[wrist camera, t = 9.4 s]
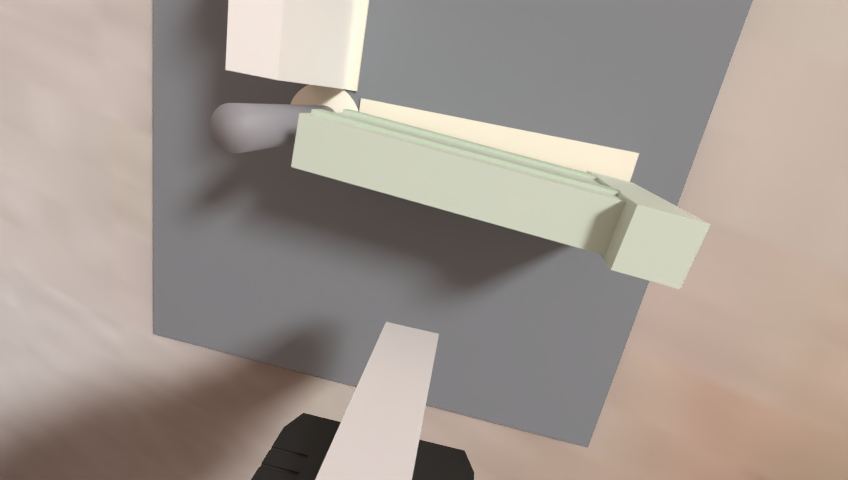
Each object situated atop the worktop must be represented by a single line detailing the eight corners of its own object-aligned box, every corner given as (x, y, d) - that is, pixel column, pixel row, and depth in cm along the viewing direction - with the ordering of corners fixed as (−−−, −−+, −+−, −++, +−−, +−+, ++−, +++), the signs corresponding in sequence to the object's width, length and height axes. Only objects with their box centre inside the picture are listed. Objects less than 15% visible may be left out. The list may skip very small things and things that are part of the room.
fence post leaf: (305, 132, 17) (198, 145, 11) (329, -104, 15) (210, -256, 9) (349, 141, 17) (265, 160, 11) (380, -96, 15) (296, -245, 9)
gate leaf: (349, 152, 16) (276, 174, 11) (358, 109, 16) (285, 109, 10) (615, 226, 16) (679, 289, 10) (633, 182, 15) (710, 224, 10)
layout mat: (161, 328, 21) (151, 334, 21) (163, -190, 15) (150, -201, 15) (585, 439, 19) (588, 449, 19) (782, -102, 13) (795, -112, 13)
